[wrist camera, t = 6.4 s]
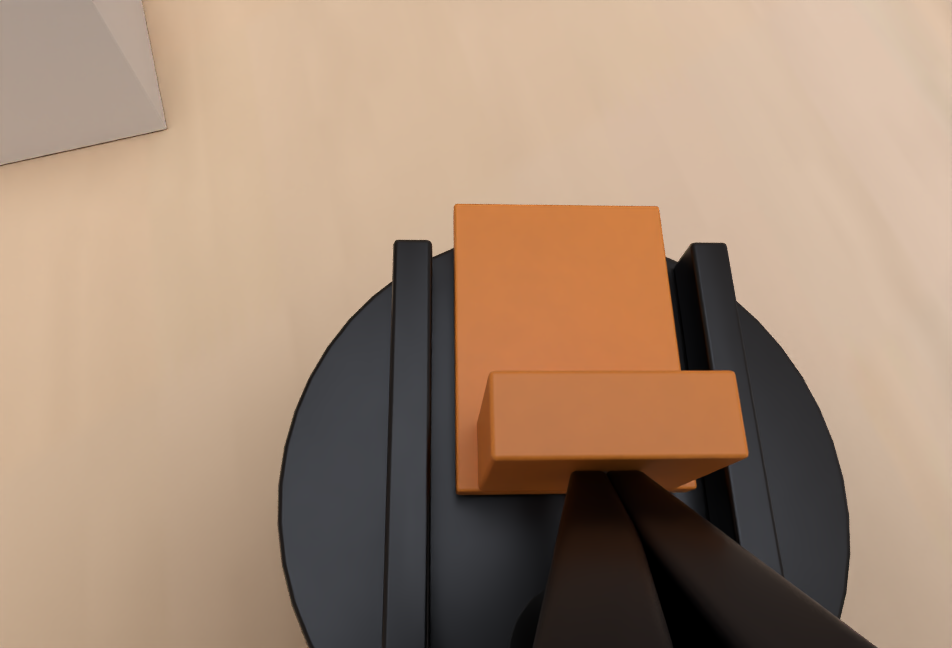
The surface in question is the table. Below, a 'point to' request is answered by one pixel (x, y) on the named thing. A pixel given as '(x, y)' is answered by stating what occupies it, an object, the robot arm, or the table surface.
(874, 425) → the table surface
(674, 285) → the tumbler
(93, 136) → the white cube
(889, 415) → the table surface
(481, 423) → the slider
